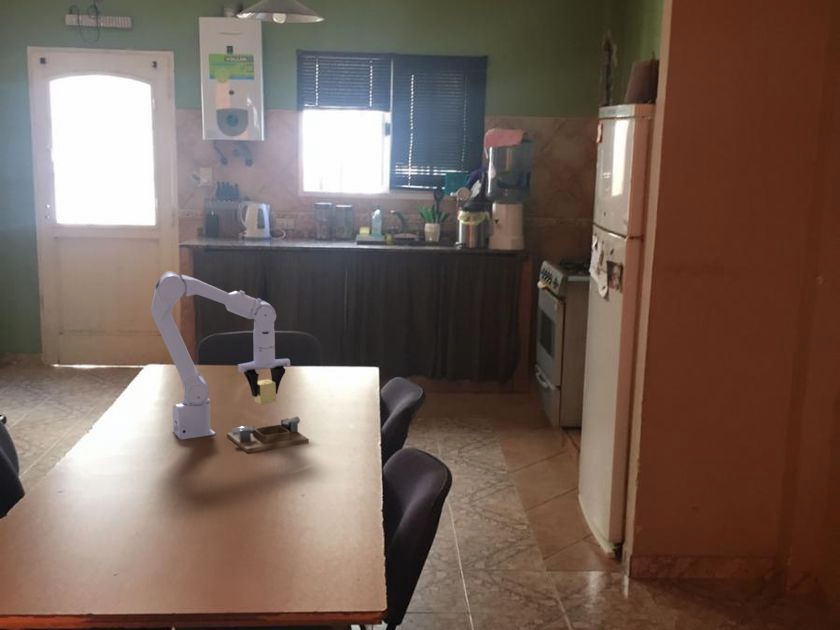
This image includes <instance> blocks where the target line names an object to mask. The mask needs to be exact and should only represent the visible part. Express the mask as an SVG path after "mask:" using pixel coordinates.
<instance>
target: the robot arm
mask: <svg viewBox="0 0 840 630" xmlns="http://www.w3.org/2000/svg"><path fill="white" fill-rule="evenodd" d="M153 293H154V294H153V297H152V301H151V306H150V307H151V308H150V313H151V316H152V318H153V320H154V322H155V325H156V327H157V329H158V331H159V334H160V336H161V338H162V340H163V343H164V344H165V346H166V348H167V351H168V352H169V355H170V358H171V360H172V361H173V364H174V366H175V368H176V369H177V372H178V375H179V376H180V380H181V382H182V390H183V392H184V397H183V398H182V399H181V402H180V403H176V404H174V405H173V407H172V428H173V429H172V433H173V434H175V436H176V437H177V438H178V439H179V440H180V441H181V440H188V439H195V438H202V437H208V436H215V435H216V432H215V431H214V430H213V429H212V428H211V404H210V403H211V402H210V400H211V399H210V397H209V394H210V390H209V386H208V385H207V381H206V378H205V377H204V376H203V375H202V374H200V373H199V372H198V369H197V368H196V365H195V364H194V361H193V359H192V357H191V355H190V353H189V352H190V351H188V348H187V346H186V343H185V341H184V340H183V337H182V335H181V333H180V331H179V329H178V327H177V324H176V321H175V319H174V318H173V316H172V311H173V309H174V306H175V305H176V303H177V302H178V301H179V300H180V299H181V298H182V297H183V295H184V294H185V295H184V296H185V297H189V296H195V295H198V296H201V297H204V298H205V299H206V298H207V299H209V300H212V301H214V302H218V303H221V304H223V305H225V309H226V311H228V312H230V313H232V314H236V315H238V316H241V317H243V318H246V319H248V320H253V329H252V331H253V332H252V333H253V336H252V337H253V341H252V342H253V360H252V361H249V362H244V363H239V364H237V371H238V372H239V373H240V374H242V373H243V374H244V376H245V378H246V380H247V382H248V385H249V387H250V392H251V396H253V397H257V395H258V389H257V384H258V381H259V375H260V374H259V373H257V371H260V370H267V369H269V370H270V375H271V381H273V382H275V386H276V395H277V394H279V393H278V392H279V387H280V384H281V381H282V378H283V377H284V375H285V374H286V368H289V367H291V359H289V358H278V359H276V349H275V348H276V345H275V344H276V341H275V340H276V339H275V338H276V337H275V334H276V333H275V332H276V331H275V321H276V319H277V313H276V310H275V308H274V307H273V306H272V305H271V304H270V303H269V302H267V301H266V300H262V299H261V298H259V297H257V298H255V297H253V296H249V295H248V294H246V292H245V291H243V290H241V289H240V290H239V291H237V290H234V291H231V292H227V291H225V290H222V289H220V288H218V287H216V286H213V285H210V284H208V283H206V282H204V281H202V280H200V279H197V278H195V277H192V276H189V275H186V274H179V273H178V272H175V271H166V272H164V273H163V274H161V276H160V277H159V279H158V280H157V282H156V284H155V287H154V292H153ZM285 367H286V368H285Z"/></svg>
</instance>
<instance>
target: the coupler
mask: <svg viewBox="0 0 840 630" xmlns="http://www.w3.org/2000/svg"><path fill="white" fill-rule="evenodd" d="M257 389H258V395H257V397H254V396H253V397H254V398H253V400H254V402H255V403H256V404H259V405H260V406H261V405H266V404H268V405H269V404H272V403H277V394H276V386H275V382H273V381H272V379H260V380H258V384H257Z"/></svg>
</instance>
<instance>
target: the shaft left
mask: <svg viewBox="0 0 840 630" xmlns="http://www.w3.org/2000/svg"><path fill="white" fill-rule="evenodd" d="M255 428H256V426H255V425H250V426H249V425H243V426H242V425H240V426H237V427H231V432H232V434H233V435H239V440H240V443H243V442H251V434H255Z"/></svg>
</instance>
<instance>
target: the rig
mask: <svg viewBox="0 0 840 630" xmlns="http://www.w3.org/2000/svg"><path fill="white" fill-rule="evenodd" d="M226 438H228V439H229V440H231V441H232V442H233V443H234V444H235V445H237V446H238V447H239V448H240V449H241V450H243V451H244V452H245V453H247V454H248V453H253V452H259V451H260V452H261V451H265V450H271V449H273V450H274V449H279V448H283V447H285V448H286V447H291V446H296V445H297V446H298V445H302V444H303V445H304V444H309V438H308V437H306V436H305V435H304V434H302V433H300V432H299V431H298V432H296V433H293V434H291V432H290V431H289V430H287V429H286V428H284V427H283V426H281V424H276V425H274V424H273V425H268V426H260V427H255V434H251V442H243V443H240V440H239V435H233V434H232V431H231V432H226Z"/></svg>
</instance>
